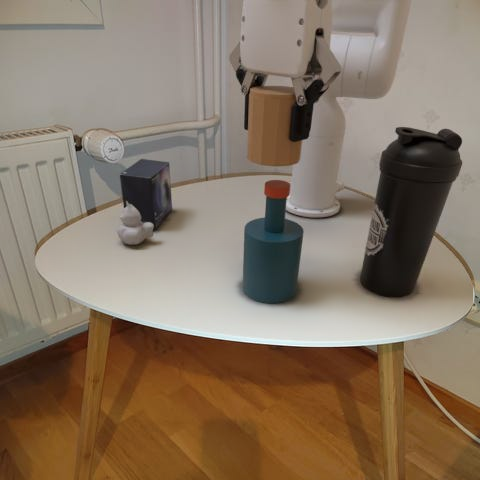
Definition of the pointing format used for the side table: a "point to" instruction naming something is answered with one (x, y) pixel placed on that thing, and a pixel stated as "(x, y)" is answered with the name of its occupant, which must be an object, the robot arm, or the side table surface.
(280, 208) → the teal bottle
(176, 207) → the side table surface
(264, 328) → the side table surface
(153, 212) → the small box
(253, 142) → the light brown faceted cylinder
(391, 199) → the water bottle
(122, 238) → the rubber duck
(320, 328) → the side table surface
